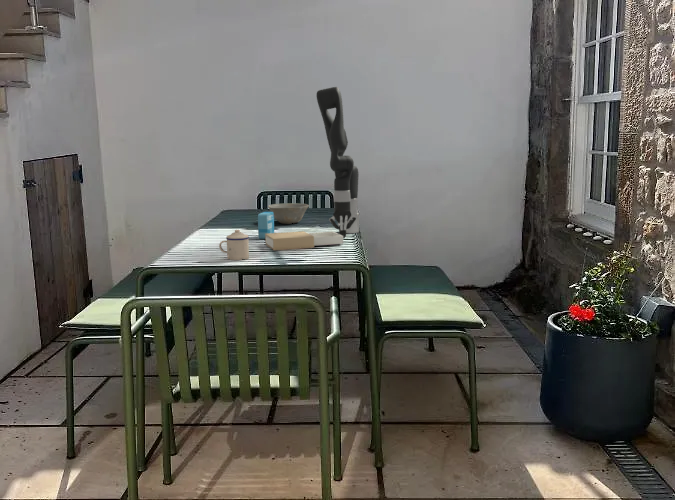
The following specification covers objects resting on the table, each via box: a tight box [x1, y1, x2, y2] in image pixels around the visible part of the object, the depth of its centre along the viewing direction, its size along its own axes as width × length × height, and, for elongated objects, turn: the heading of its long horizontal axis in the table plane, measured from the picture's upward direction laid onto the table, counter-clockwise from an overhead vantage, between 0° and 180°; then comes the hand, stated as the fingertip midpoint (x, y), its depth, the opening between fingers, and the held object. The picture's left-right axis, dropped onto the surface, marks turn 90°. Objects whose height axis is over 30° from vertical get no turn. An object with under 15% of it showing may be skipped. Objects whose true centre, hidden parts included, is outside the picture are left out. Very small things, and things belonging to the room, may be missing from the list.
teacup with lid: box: [218, 229, 250, 261], centre depth 265 cm, size 12×9×12 cm
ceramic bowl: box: [267, 202, 310, 225], centre depth 368 cm, size 22×23×10 cm
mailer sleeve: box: [264, 230, 315, 251], centre depth 293 cm, size 18×16×5 cm
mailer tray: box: [265, 231, 344, 248], centre depth 295 cm, size 32×14×4 cm, turn 109°
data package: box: [257, 211, 275, 240], centre depth 318 cm, size 12×4×12 cm, turn 170°
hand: (342, 238), depth 301 cm, fingers closed
